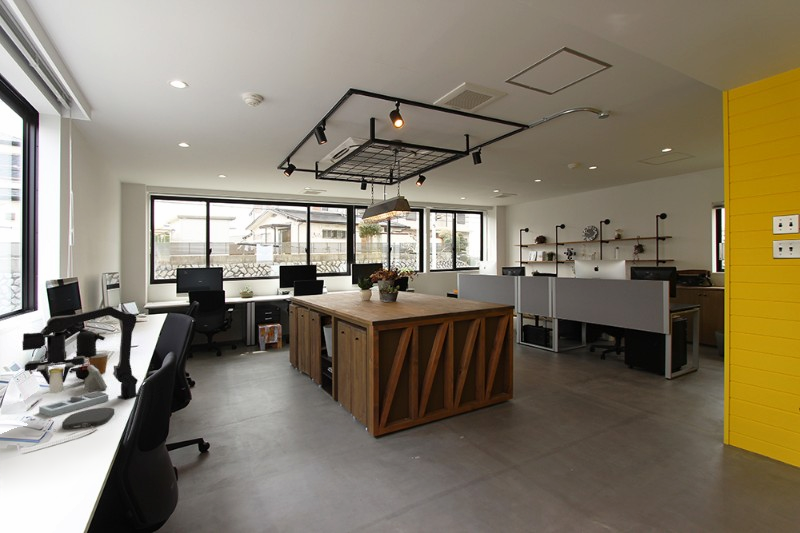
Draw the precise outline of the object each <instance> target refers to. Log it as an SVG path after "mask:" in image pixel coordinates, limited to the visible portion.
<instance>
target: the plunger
mask: <svg viewBox="0 0 800 533" xmlns="http://www.w3.org/2000/svg"><path fill="white" fill-rule="evenodd" d="M82 395H83V394H82ZM82 395H80V394H78V395H74V396H71V397H70V398H71V403H75V402H78V401H82Z"/></svg>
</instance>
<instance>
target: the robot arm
mask: <svg viewBox="0 0 800 533" xmlns="http://www.w3.org/2000/svg"><path fill="white" fill-rule="evenodd" d="M108 316H110V317H112V318H114V319H116V320H118V321H119V322H118V323H119V327H120V332H121V334H120V345H119V357H118V359H119V360H118V363H117V365H113V373H112V375H113V376H114V377H115V379H116V380H117V381H118V382H119V383H120V395H117V398H119V399H122V400H128V399H131V398H136V397H138V396H137V394H139V393H137V383H138V382H139V379H138V378H136V377H135V375H133V372H132V371H133V370H132V366H131V362H130V361H131V352H132V351H131V349H132V337H133V332H134V329H135V328H136V324H137V319H138V318H137V316H136V315H135V314H133V313H131V312H128V311H126V312H123V311H121V310H119V309H116V308H115V307H113V306H110V305H106V306H105V307H100V308H95V309H92V310H88V311H83V312H80V313H76V314H71V315H70V314H68V315H58V316H52V317H50V318H48V320H47V321H46V326H45V327H44V328H43V329H42V330H41V331H39V332H30V333H29V332H27V333H23V334H22V343H21V344H22V351H29V350H30V351H31V350H38V349H39V350H40V349H42V348H43V347H44V346H46V347H47V348H46V350H45V352H44V359H47V360H46V361H41V360H39V359H38V360H31V361H28V362H27V363H25V364H24V372H29V371H36V372H38V373H40V374H41V375H42V377H43V378H44V380H45V382H46V383H47V385H49V367H52V366H60V365H62V366H63V365H65V366H64V367H63V368H64V371H63V383H65V381H66V379H67V376H68V374H69V372H70V369H72V368H74V367H75V366H82V365H85V364H86V363H85V362H86V359H85V356H77V357H76V356H73V357H72V358H68V359H67V351H66V336H71V335H72V333H71V332H70V331H68V330H67V329H68V328H70V327H72V326H76V325H77V324H81V323H83V322H89V321H92V320H96V319H100V318H103V317H108Z"/></svg>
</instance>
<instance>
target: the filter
mask: <svg viewBox="0 0 800 533" xmlns="http://www.w3.org/2000/svg"><path fill="white" fill-rule="evenodd" d="M72 329H73V330H74V331H76V332H79V333H77V335H76V351H75V354H76V355H75V357H77V356H85V360H86V359H88V360H86V361H85V363H84V364H83V365H81V366H79V367H76V368H75V369H74V370H75V376H76V378H77V379H79V380H83V382H84V383H85V378H87V377H88V376H89V371H88V369H87V367H88V366H89V365H91V357H93V356H96V351H97V341H98V340H100V341H105V340H106V337H105V336H102V335H100V333H95V332H94V331H92V330H89V329H86V328H84V327H82V326H80V327H79V326H77V325H73V328H72ZM89 357H90V360H89ZM89 362H90V363H89ZM93 366H94V367H95V368H97V366H96V365H93Z"/></svg>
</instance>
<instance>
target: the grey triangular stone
mask: <svg viewBox="0 0 800 533" xmlns="http://www.w3.org/2000/svg"><path fill="white" fill-rule="evenodd" d="M87 369H88V371H89V376H88V377H87V378H85V382H84V388H85V389H86V391H88V392H95V391H100V390H102V391H104V390H106V389H107V388H108V386H107V383H106V382H105V379H104V378H103V376H102V374H100V372H99V370H98V369H97V368H95V367H94V366H93V365H89V366H88V367H87Z"/></svg>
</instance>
